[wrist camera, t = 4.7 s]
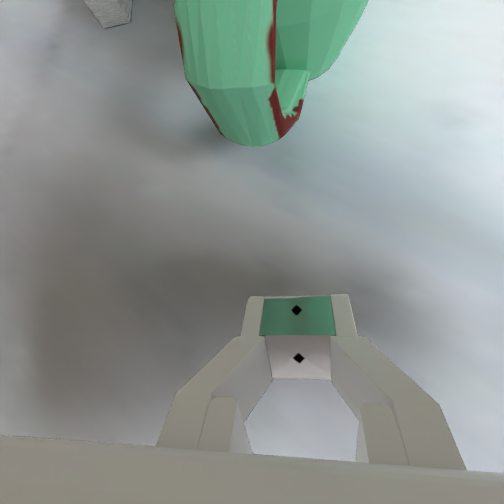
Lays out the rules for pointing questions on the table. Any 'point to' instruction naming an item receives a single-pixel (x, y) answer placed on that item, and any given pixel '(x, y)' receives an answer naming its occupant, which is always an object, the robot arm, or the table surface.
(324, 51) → the mug
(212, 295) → the table surface
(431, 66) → the table surface
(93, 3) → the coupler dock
